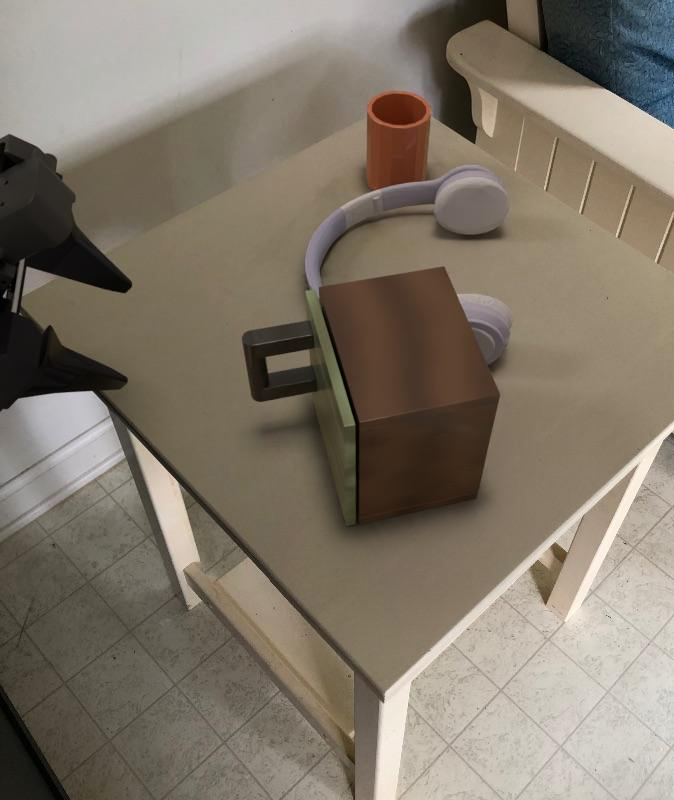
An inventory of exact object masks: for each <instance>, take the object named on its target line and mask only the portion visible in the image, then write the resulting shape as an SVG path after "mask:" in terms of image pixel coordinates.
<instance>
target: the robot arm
mask: <svg viewBox="0 0 674 800" xmlns="http://www.w3.org/2000/svg"><path fill="white" fill-rule="evenodd" d="M57 167H58V158H57V157H56V155H54V154H52V153H47V152H46V153H45V152H44V151H43V150H42V149H41V147H38V146H37V145H35V144H33V143H30V142H29V141H26V140H24V139H22V138H20V137H18V136H15V135H13V134H11V133H8V134H5V135H4V136H2V137H0V413H1V412H2V411H4V410H9V409H10V408H11V407H12V406H13V405H14V404H15V403H16V402H17V401H18V400H19V399H26V398H33V397H39V396H46V395H52V394H53V395H54V394H65V393H82V392H85V393H86V392H100V391H101V392H103V391H118V390H121V389H123V388H124V387H125V386H126V385H127V384H128V383H129V378H128V376H126V375H124V374H123V373H121V372H119V371H117V370H116V369H114V368H113V367H110V366H108V365H106V364H104V363H102V362H99V361H97V360H95V359H93V358H91V357H88V356H86V355H85V354H82V353H79V352H77V351H75V350H73V349H70V348H68V347H66V346H64V345H63V344H62V342H61V340H60V338H59V336H58V334H57V333H56V331H55V329H54V327H53V326H52V325H51V324H48V325H47V327H45V328H44V329H43V331H41V330H40V329H39V328H38V326H37V325H36V324H35V323H34V321H33V319H32V318H30V317H27V316H24V315H22V314H20V313H21V307H22V301H23V293H24V287H25V280H26V274H27V268H29V269H30V268H31V269H33V270H37V271H40V272H44V273H47V274H51V275H55V276H56V277H57V276H58V277H60V278H64V279H67V280H70V281H75V282H78V283H82V284H83V285H88V286H91V287H95V288H98V289H102V290H106V291H109V292H114V293H120V294H126V293H128V292H129V291H130V290H131V289H132V288H133V281H132V280H131V279H130V278H129V277H128V276H127V275H126V274H125V273H124V272H123V271H122V270H121V269H120V268H119V267H117V266H116V264H115V263H113V262H112V261H111V259H109V258H108V257H107V256H106V255H105V254H104V252H102V251H101V250H100V249H99V247H97V245H95V244H94V243H93V242H92V241H91V240H90V239H89V238H88V236H87V235H86V234H85V233H84V232H83V231H82V230H81V229H80V227H79V226H78V225H77V223H76V220H75V217H74V213H73V204H74V203H76V200H77V199H76V198H77V197H76V193H75V192H74V191H73V190H72V189H71V188H70V187H69V186H68V185H67V184H66V183H65V182H64V181H63V178H64V176H63V175H62V174H61V173H59V172H57ZM5 293H6V294H5ZM4 295H5V297H4Z"/></svg>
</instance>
